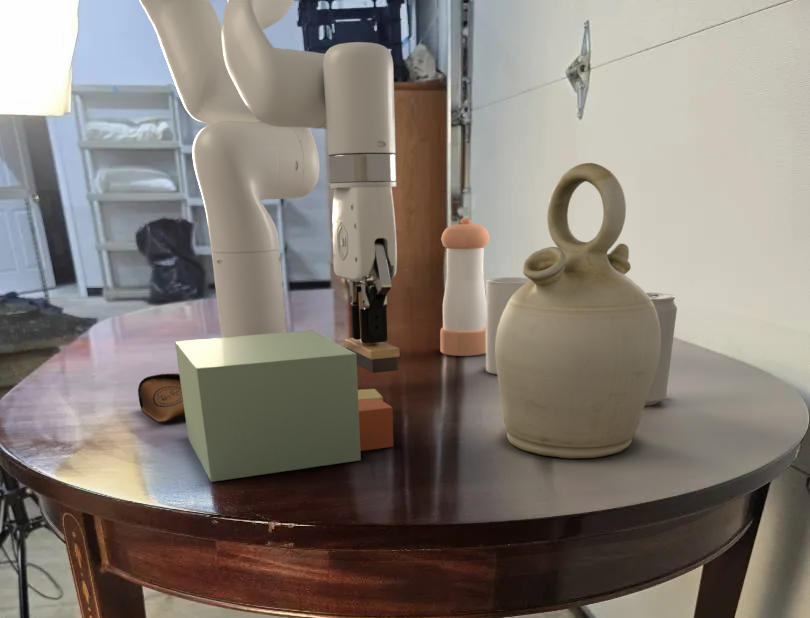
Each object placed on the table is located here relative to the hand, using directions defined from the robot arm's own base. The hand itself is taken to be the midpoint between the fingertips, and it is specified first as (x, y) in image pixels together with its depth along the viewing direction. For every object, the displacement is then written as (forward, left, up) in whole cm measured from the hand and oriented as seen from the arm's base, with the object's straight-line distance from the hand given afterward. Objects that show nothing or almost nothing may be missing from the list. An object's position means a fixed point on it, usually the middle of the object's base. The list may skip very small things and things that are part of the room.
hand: (369, 338), depth 94 cm
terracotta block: (+20, -10, -5) cm, 23 cm away
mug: (-3, +23, -7) cm, 24 cm away
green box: (+18, -17, -7) cm, 25 cm away
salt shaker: (-18, +22, -7) cm, 29 cm away
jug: (+28, +11, -7) cm, 31 cm away
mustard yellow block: (+15, -9, -5) cm, 18 cm away
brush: (0, 0, -3) cm, 3 cm away
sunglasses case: (-1, -18, -7) cm, 19 cm away
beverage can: (+18, +27, -7) cm, 33 cm away
